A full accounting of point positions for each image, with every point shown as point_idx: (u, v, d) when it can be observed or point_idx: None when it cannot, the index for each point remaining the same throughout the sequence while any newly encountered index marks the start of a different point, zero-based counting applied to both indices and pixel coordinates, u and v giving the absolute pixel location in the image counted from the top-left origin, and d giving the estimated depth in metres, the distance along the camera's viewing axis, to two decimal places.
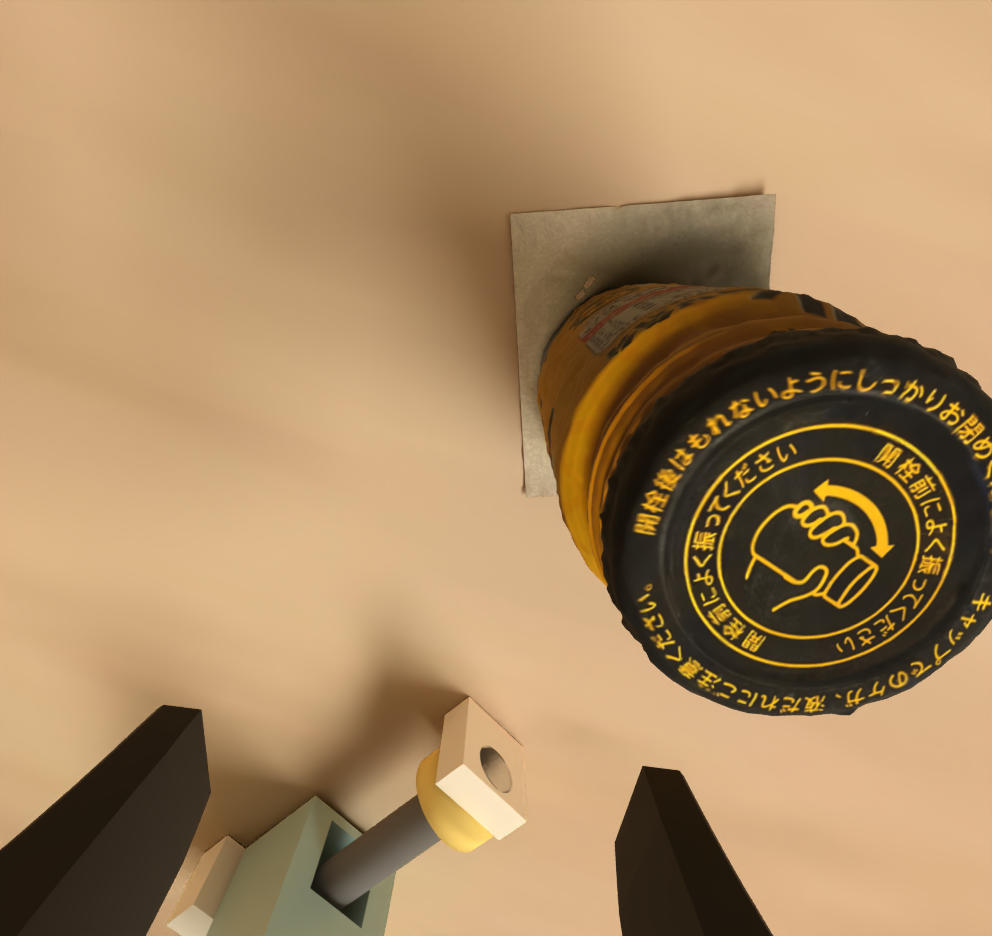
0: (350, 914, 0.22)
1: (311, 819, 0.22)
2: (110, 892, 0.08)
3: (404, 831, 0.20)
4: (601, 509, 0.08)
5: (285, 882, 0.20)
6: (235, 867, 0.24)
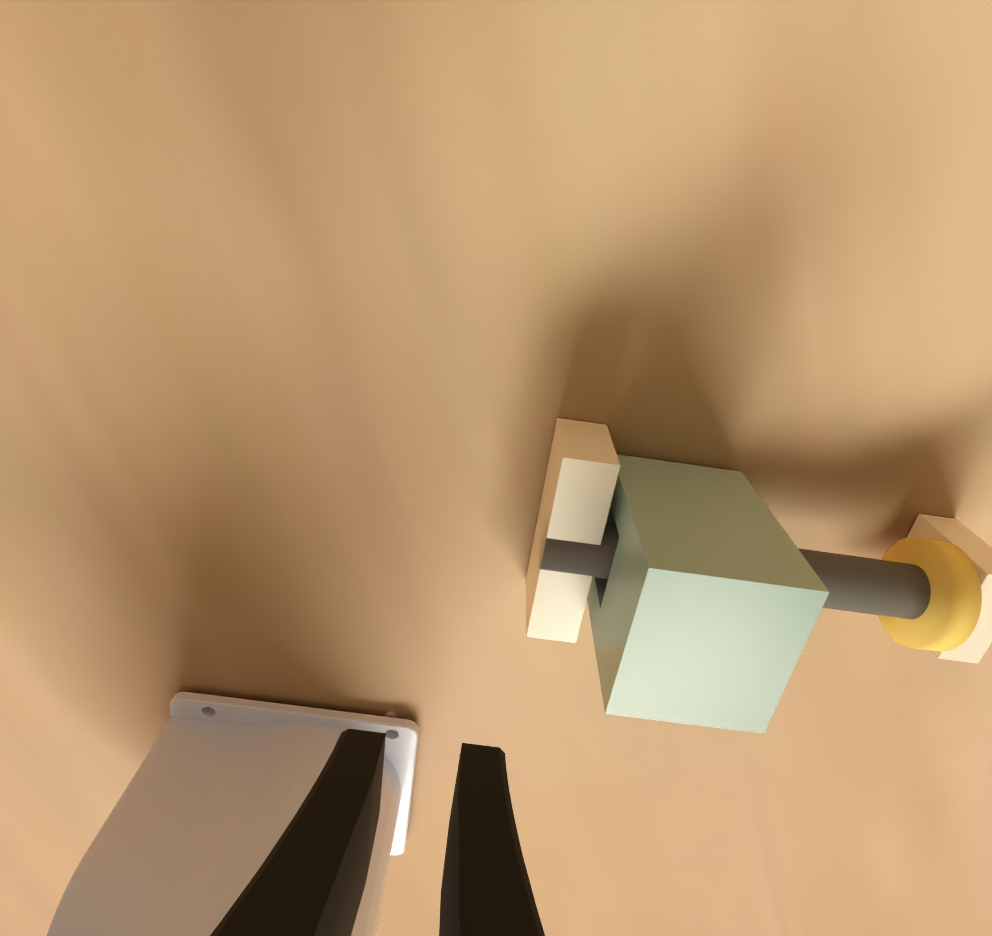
0: None
1: (750, 491, 0.18)
2: (338, 920, 0.08)
3: (878, 583, 0.17)
4: None
5: None
6: None
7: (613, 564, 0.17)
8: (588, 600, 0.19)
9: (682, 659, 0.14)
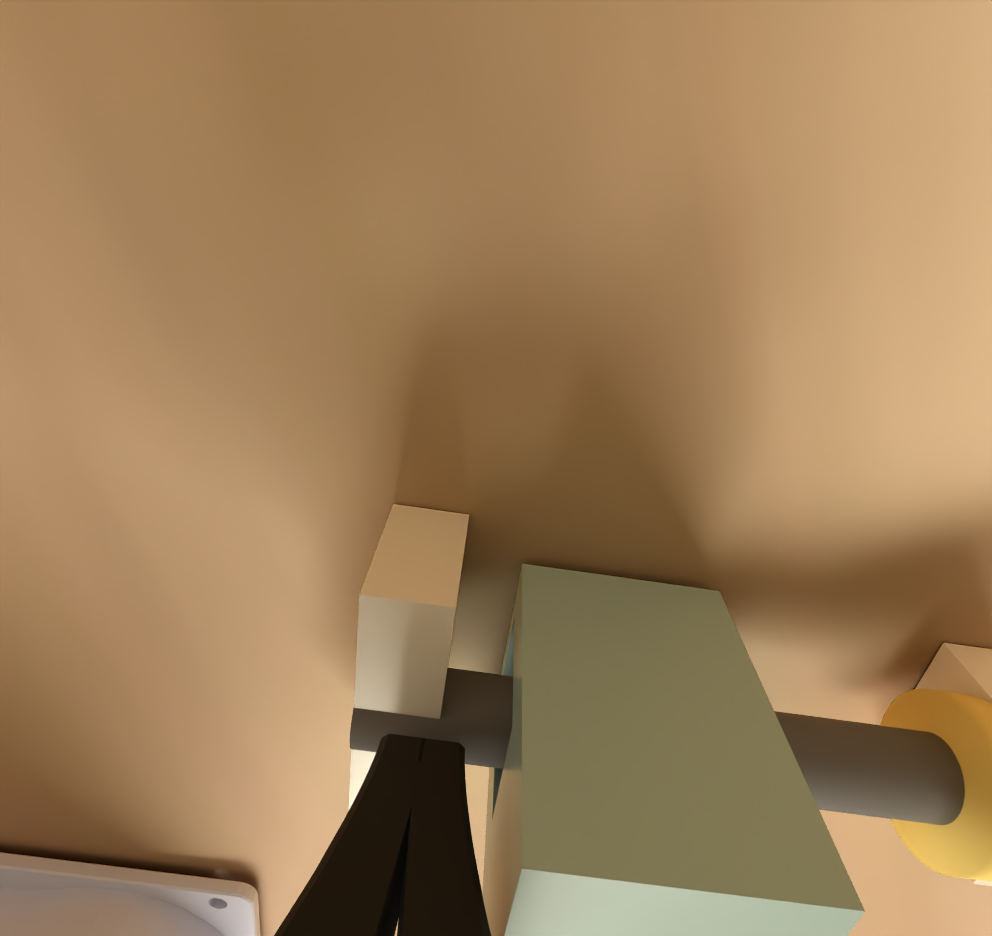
0: None
1: (731, 629, 0.12)
2: (387, 925, 0.08)
3: (882, 779, 0.11)
4: None
5: (783, 738, 0.09)
6: (460, 575, 0.12)
7: (504, 767, 0.10)
8: (489, 777, 0.13)
9: None
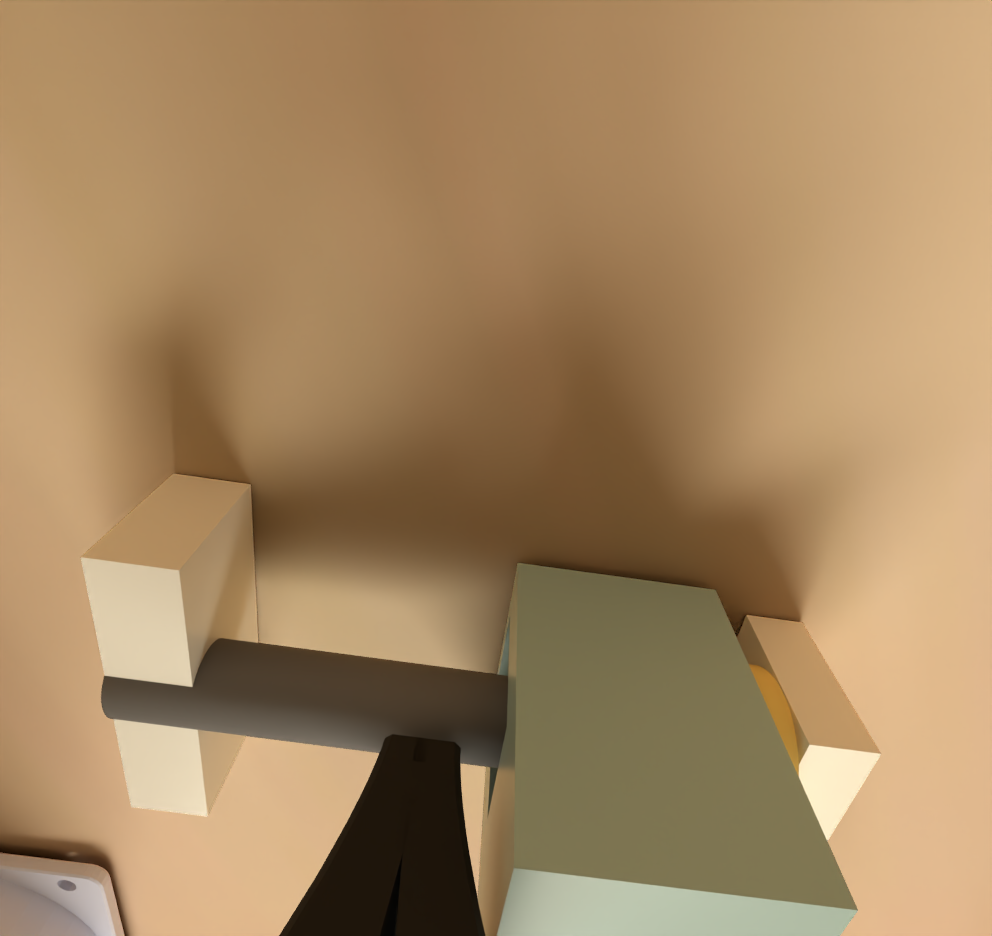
0: None
1: (727, 628, 0.12)
2: (391, 927, 0.08)
3: None
4: None
5: (778, 737, 0.09)
6: (235, 545, 0.12)
7: (499, 766, 0.10)
8: (485, 777, 0.13)
9: None
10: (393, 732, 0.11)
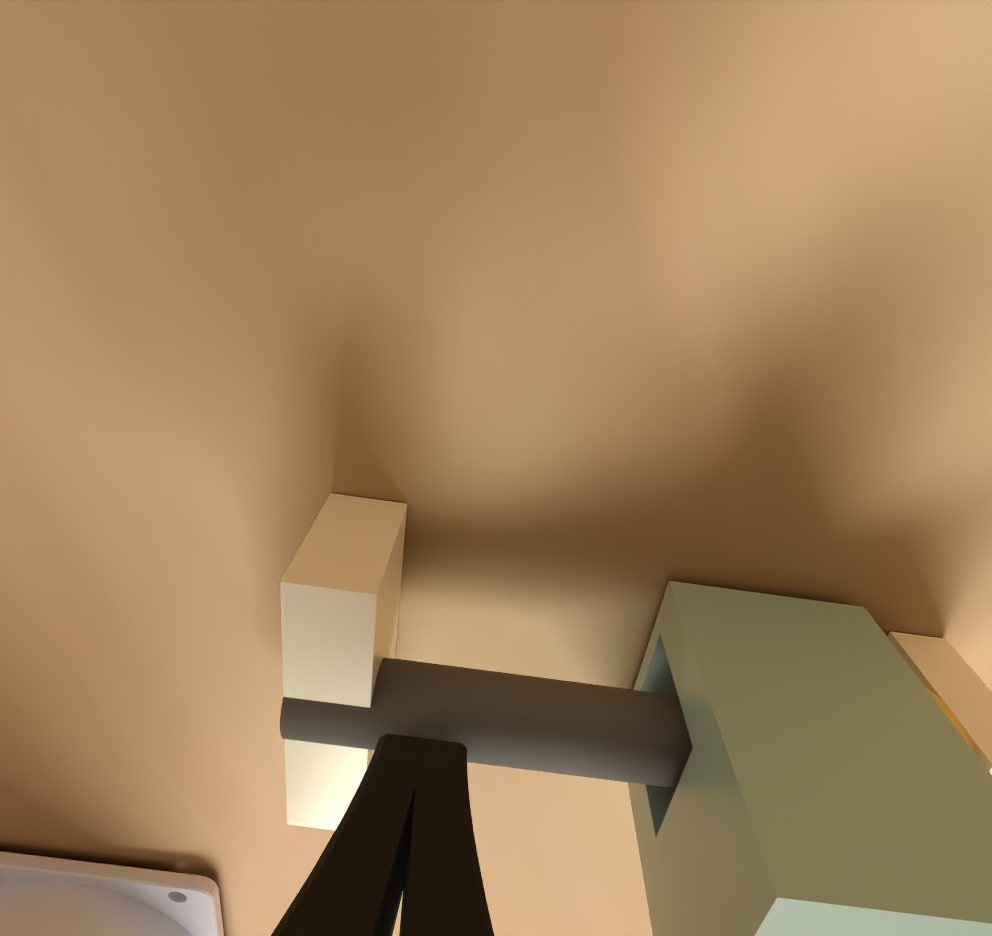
0: None
1: (886, 646, 0.12)
2: (384, 925, 0.08)
3: None
4: None
5: (976, 759, 0.09)
6: (396, 564, 0.12)
7: (681, 786, 0.10)
8: (631, 793, 0.13)
9: None
10: (568, 752, 0.11)
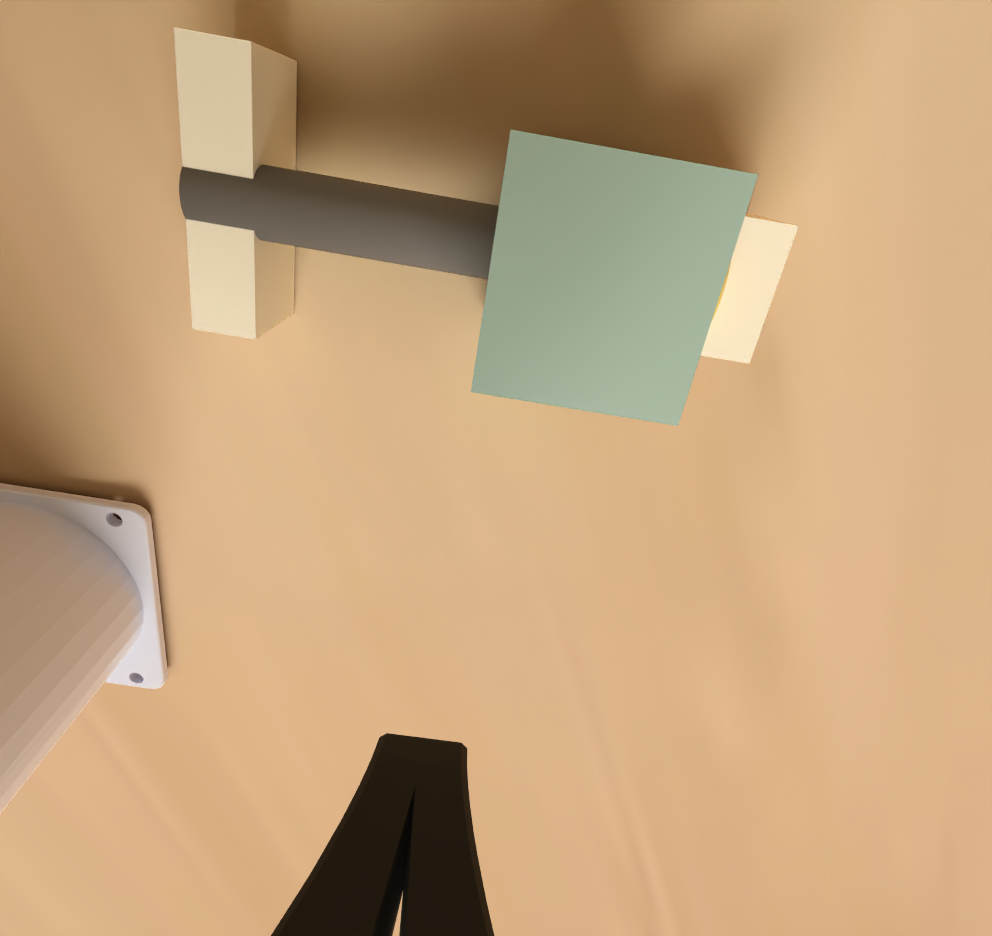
0: None
1: None
2: (385, 925, 0.08)
3: None
4: None
5: None
6: (284, 100, 0.14)
7: None
8: None
9: (566, 296, 0.11)
10: (413, 222, 0.13)
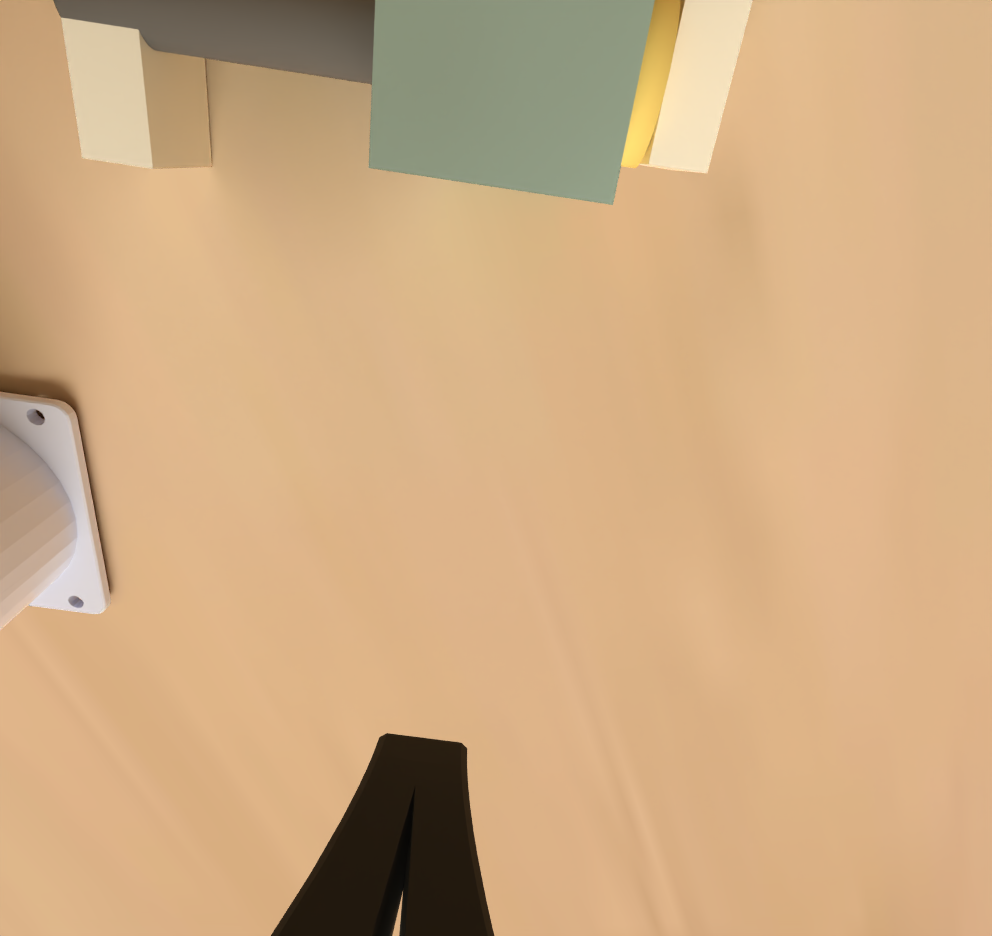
0: None
1: None
2: (384, 925, 0.08)
3: None
4: None
5: None
6: None
7: None
8: None
9: (468, 30, 0.09)
10: (315, 9, 0.12)
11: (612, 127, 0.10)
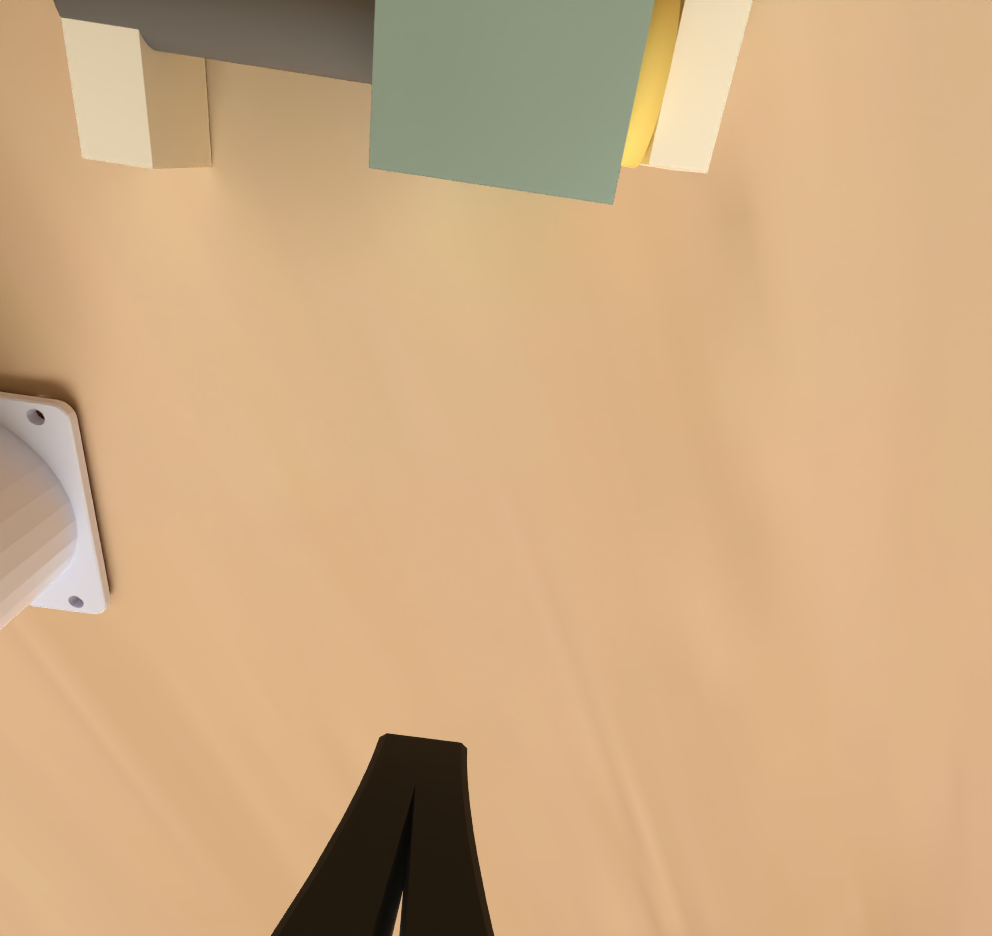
0: None
1: None
2: (384, 925, 0.08)
3: None
4: None
5: None
6: None
7: None
8: None
9: (468, 30, 0.09)
10: (315, 9, 0.12)
11: (612, 127, 0.10)
